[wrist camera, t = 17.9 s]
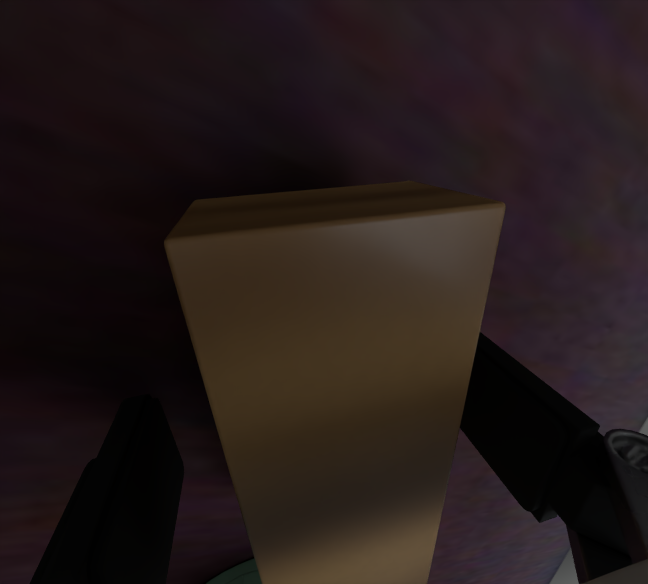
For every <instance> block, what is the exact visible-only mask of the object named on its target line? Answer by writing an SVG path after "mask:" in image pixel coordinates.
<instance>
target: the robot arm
mask: <svg viewBox="0 0 648 584" xmlns="http://www.w3.org/2000/svg"><path fill="white" fill-rule="evenodd" d="M599 427H600V425H599V424H597V423H596V422H595V421H594V420H592V419H591V418H590V417H588V416H587V415H586V414H585V413H583V412H582V411H581V410H579V409H578V408H577V407H576V406H574V405H573V404H572V403H570V402H569V401H568V400H567V399H565V398H564V397H563V396H561V395H560V394H559V393H558V392H556V391H555V390H554V389H552V388H551V387H550V386H549V385H547V384H546V383H545V382H544V381H542V380H541V379H540V378H538V377H537V376H536V375H535V374H533V373H532V372H531V371H529V370H528V369H527V368H526V367H524V366H523V365H522V364H520V363H519V362H518V361H517V360H515V359H514V358H513V357H511V356H510V355H509V354H508V353H506V352H505V351H504V350H502V349H501V348H500V347H499V346H497V345H496V344H495V343H493V342H492V341H491V340H490V339H488V338H487V337H486V336H484V335H483V334H482V333H481V332H480V333H479V337H478V342H477V347H476V352H475V356H474V361H473V366H472V371H471V376H470V380H469V385H468V390H467V395H466V399H465V404H464V409H463V414H462V419H461V423H460V428H461V430H462V431H463V432H464V433H465V435H466V436H467V437H468V439H469V440H470V441H471V442H472V444H473V445H474V446H475V448H476V449H477V450H478V451H479V453H480V454H481V455H482V457H483V458H484V459H485V460H486V462H487V463H488V464H489V466H490V467H491V468H492V469H493V471H494V472H495V473H496V475H497V476H498V477H499V478H500V480H501V481H502V482H503V484H504V485H505V486H506V487H507V489H508V490H509V491H510V493H511V494H512V495H513V496H514V498H515V499H516V500H517V501H518V503H519V504H520V505H521V506H522V507H523V508H524V509H525V510H526V511H529V512H531V513H532V514H533V515H534V517H535V518H536V519H537V521H538V522H539V523H541V522H543V521H546V520H549V519H552V518H555V517H557V514H558V515H559V517H560V518H561V519H562V520H563V521H564V522H565V524H566V527H567V532H568V536H569V541H570V545H571V550H572V554H573V558H574V564H575V568H576V573H577V577H578V582H579V584H648V436H647V435H644V434H641V433H638V432H635V431H632V430H626V429H612V430H610V431H608V432H606V434H605V436H603V435H601V434H600V433H599V432H598V429H599ZM183 476H184V466H183V461H182V458H181V456H180V453H179V451H178V448H177V445H176V443H175V440H174V437H173V435H172V432H171V430H170V427H169V424H168V422H167V419H166V416H165V414H164V411H163V409H162V406H161V403H160V401H159V399H158V398H154V399H152V397H151V396H150V395H149V394H147V395H141V396H136V397H131V398H126V399H124V400H123V401H122V403H121V405H120V407H119V410H118V412H117V414H116V416H115V418H114V421H113V423H112V425H111V427H110V429H109V432H108V434H107V436H106V438H105V440H104V443H103V445H102V447H101V449H100V451H99V454H98V456H97V458H95V459H92V460H91V461H90V462H89V463H88V464H87V466H86V467H85V469H84V471H83V473H82V475H81V477H80V479H79V481H78V483H77V485H76V488H75V490H74V492H73V494H72V496H71V498H70V500H69V502H68V504H67V506H66V508H65V511H64V513H63V515H62V517H61V519H60V521H59V523H58V525H57V527H56V529H55V532H54V534H53V536H52V538H51V540H50V542H49V544H48V546H47V548H46V550H45V553H44V555H43V557H42V559H41V561H40V563H39V565H38V567H37V569H36V571H35V573H34V576H33V578H32V580H31V582H30V584H166V578H167V572H168V566H169V560H170V554H171V548H172V542H173V536H174V530H175V524H176V519H177V513H178V507H179V501H180V495H181V489H182V483H183Z"/></svg>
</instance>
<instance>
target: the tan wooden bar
mask: <svg viewBox="0 0 648 584" xmlns="http://www.w3.org/2000/svg"><path fill="white" fill-rule="evenodd" d="M505 208H506V207H505V204H504V203H503V202H500V201H496V200H492V199H487V198H483V197H479V196H474V195H470V194H466V193H461V192H457V191H453V190H448V189H444V188H440V187H435V186H431V185H426V184H422V183H418V182H413V181H405V182H393V183H382V184H370V185H359V186H347V187H336V188H325V189H313V190H302V191H290V192H279V193H268V194H256V195H245V196H233V197H222V198H210V199H199V200H195V201H193V203H192V204H191V205H190V207H189V208H188V209H187V211H186V212H185V213H184V215H183V216H182V217H181V219H180V220H179V221H178V223H177V224H176V225H175V227H174V228H173V229H172V231H171V232H170V233H169V235H168V236H167V237H166V239H165V240H164V248H165V251H166V255H167V258H168V262H169V265H170V269H171V272H172V275H173V279H174V282H175V286H176V289H177V293H178V296H179V300H180V303H181V306H182V310H183V313H184V317H185V320H186V324H187V327H188V331H189V334H190V337H191V341H192V344H193V348H194V351H195V355H196V358H197V362H198V365H199V368H200V372H201V375H202V379H203V382H204V386H205V389H206V393H207V396H208V400H209V403H210V406H211V410H212V413H213V417H214V420H215V424H216V427H217V431H218V434H219V437H220V441H221V444H222V448H223V451H224V455H225V458H226V462H227V465H228V468H229V472H230V475H231V479H232V482H233V486H234V489H235V493H236V496H237V499H238V503H239V506H240V510H241V513H242V517H243V520H244V524H245V527H246V531H247V534H248V537H249V541H250V544H251V548H252V551H253V555H254V558H255V562H256V565H257V568H258V572H259V575H260V579H261V582H262V584H427V581H428V576H429V571H430V567H431V562H432V557H433V552H434V547H435V543H436V538H437V533H438V528H439V524H440V519H441V514H442V509H443V504H444V500H445V495H446V490H447V485H448V481H449V476H450V471H451V466H452V461H453V457H454V452H455V447H456V442H457V438H458V433H459V428H460V423H461V419H462V414H463V409H464V404H465V399H466V395H467V390H468V385H469V380H470V376H471V371H472V366H473V361H474V356H475V352H476V347H477V342H478V337H479V333H480V328H481V323H482V318H483V313H484V309H485V304H486V299H487V294H488V290H489V285H490V280H491V275H492V270H493V266H494V261H495V256H496V251H497V247H498V242H499V237H500V232H501V227H502V223H503V218H504V213H505Z"/></svg>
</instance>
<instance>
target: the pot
mask: <svg viewBox="0 0 648 584" xmlns="http://www.w3.org/2000/svg"><path fill="white" fill-rule="evenodd" d="M206 584H262V582H261V579H260V575H259V572H258V568H257V565H256V562H255V558H254V559H251V560H248V561H246V562H244V563H241V564H239V565H237V566H235V567H233V568H231V569H229V570H227V571H225V572H223V573H221V574H220V575H218V576H216V577H215V578H213V579H211V580H210V581H208V582H207V583H206Z"/></svg>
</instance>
